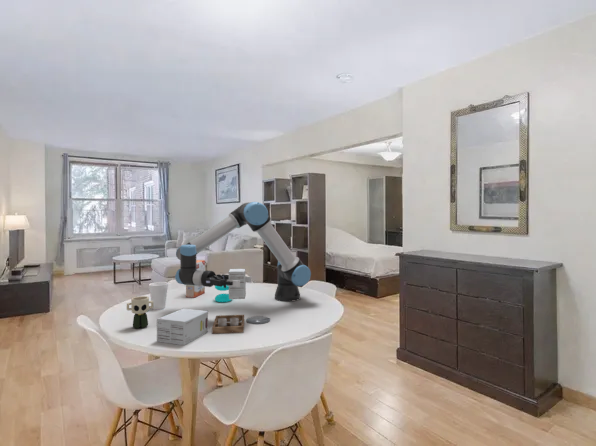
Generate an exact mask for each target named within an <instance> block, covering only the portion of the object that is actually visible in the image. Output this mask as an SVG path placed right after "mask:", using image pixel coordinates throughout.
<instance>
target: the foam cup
mask: <svg viewBox="0 0 596 446" xmlns="http://www.w3.org/2000/svg"><path fill="white" fill-rule="evenodd" d="M168 289H169V282H166V281H158V282H151V283H149V284H148V290H149V294H150V301H153V306H154V307H153V308H151V309H152V310H155V311H158V310H164V309H166V303H167V296H168Z"/></svg>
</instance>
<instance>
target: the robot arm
mask: <svg viewBox="0 0 596 446" xmlns="http://www.w3.org/2000/svg"><path fill="white" fill-rule="evenodd" d="M271 222H272V218H271V217H270V215H269V210H268V208H267V207H266V205H265V204H263V203H261V202H258V201H252V202H244V203H242V204H241V205H240V206H238V207H237V208H235V209H234V210H233V211H231V212H229V214H228V216H227V217H226V218H224V219H223V220H221V221H219V222H218V223H216V224H214V225H213V226H212V227H210V228H209V229H207V230H206V231H204V232H203V233H201V234H200V235H198V236H196V237H194V238H193V239H191V240H190V241H188V242H187V243H186V244H181V245H180V246H179V247H178V248H177V249H176V252H175V255H176V258H177V259H178V260H179V262H180V268H179V269H178V270H176V272H175V276H174V278H175V281H176V283H178V284H179V285H184V286H186V285H196V286H199V287H201V286H205V287H208V288H211V287H215V286H220V287H222V286H224V288H226V285H227V286H233V287H240V281H239V280H229V274H216V272H215V271H214V270H206V269H205V270H196V267H197V266H196V260H197V256H198V254H200V253H201V252H203V251H204V250H206V249H207V248H209V246H212V245H213V244H215V243H216V242H217V241H219V240H220V239H222V238H224V237H225V236H226V235H228V234H229V233H231V232H232V231H234V230H235V229H240V228H242V227H243V226H246V225H248V227H249V228H250V229H251V231H252V232H253V233H257V234H258V235H259V237H260V238H261V240H263V242H264V244H265V245H266V246H267V247H268V249H269V250H270V252H271V253H272V254H273V256H274V257H275V259H276V260H277V266H276V267H277V286H276V289H275V294H274V300H277V301H279V300H280V301H281V302H293V301H292V300H295V301H298V300H297V299H299V298H300V299H301V293H300V289H299V287H303V286H305V285H306V284H308V283H309V281H310V280H311V275H312V272H311V269H310V267H308V266H307V265H305V264H304V263H303V262H302V260H301V259H300V257H298V256H295V255H294V254H293V252H292V251H291V250H290V248H289V246H287V244H286V242H285V241H284V240H283V238H282V237H281V236H280V234H279V233H278V232H277V230H276V229H275V227H274V226H273V224H272V223H271ZM245 277H246V283H250V284H251V283H252V282H253V276H248V275H247V276H246V275H245ZM300 299H299V300H300Z"/></svg>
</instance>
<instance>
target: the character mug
mask: <svg viewBox="0 0 596 446" xmlns="http://www.w3.org/2000/svg"><path fill="white" fill-rule="evenodd" d="M130 306H131V307H130ZM153 307H154V306H153V301H151V300H150V298H149V296H145V295H143V296H141V295H140V296H134V297H132V298H131V301H130V302H127V303H126V311H131V314H134V315H133V319H132V328H134V329H140V327H141V328H146V327H147V326H149V320H148V315H147V313H148V312H149V311H150V309H152V308H153Z"/></svg>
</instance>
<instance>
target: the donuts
mask: <svg viewBox="0 0 596 446" xmlns="http://www.w3.org/2000/svg"><path fill="white" fill-rule="evenodd" d="M214 288H215V290H217V291H221V292H222V291H223V292H225V291H229V286H227V285H226V288H224V286H222V287H220V286H214ZM232 300H233V299H229V293H220V294H217V295H216V296H215V297H214V301H215V302H217V303H228V302H229V303H230V302H232Z"/></svg>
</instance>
